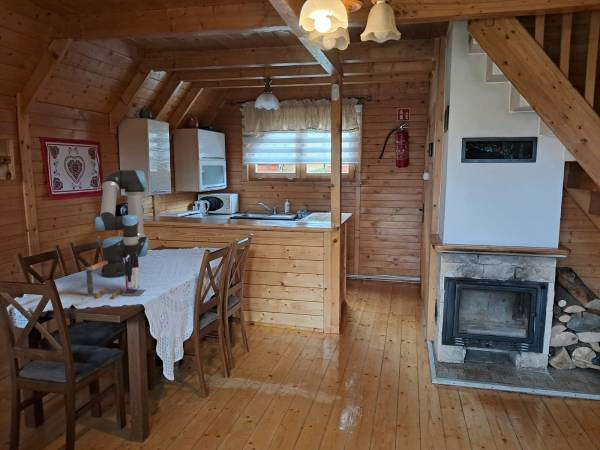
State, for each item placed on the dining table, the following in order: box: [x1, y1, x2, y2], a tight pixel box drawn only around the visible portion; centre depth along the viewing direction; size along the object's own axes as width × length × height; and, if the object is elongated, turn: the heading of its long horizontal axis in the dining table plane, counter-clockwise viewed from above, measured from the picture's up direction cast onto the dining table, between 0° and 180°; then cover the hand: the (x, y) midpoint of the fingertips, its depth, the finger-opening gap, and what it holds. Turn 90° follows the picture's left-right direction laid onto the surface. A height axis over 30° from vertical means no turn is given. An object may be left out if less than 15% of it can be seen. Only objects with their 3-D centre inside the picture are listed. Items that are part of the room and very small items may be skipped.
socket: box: [86, 270, 123, 300], centre depth 240 cm, size 10×16×14 cm, turn 89°
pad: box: [119, 289, 146, 297], centre depth 246 cm, size 10×10×1 cm
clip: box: [85, 260, 108, 272], centre depth 245 cm, size 3×17×2 cm, turn 169°
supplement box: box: [124, 267, 141, 291], centre depth 245 cm, size 6×6×12 cm
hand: (132, 285), depth 245 cm, fingers closed on supplement box, 6 cm apart
